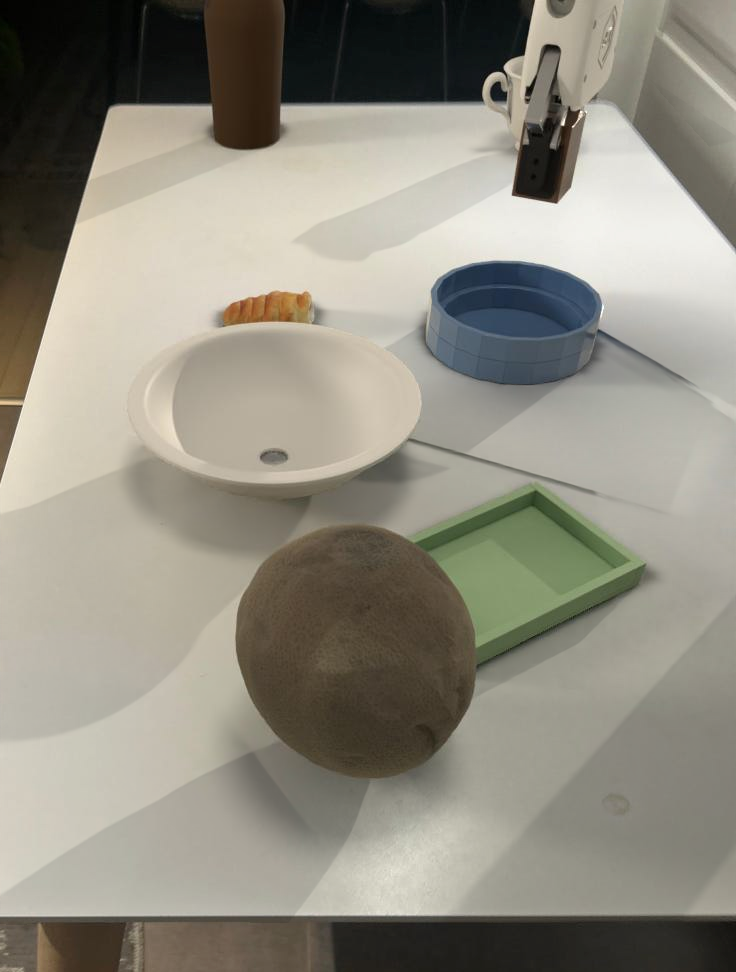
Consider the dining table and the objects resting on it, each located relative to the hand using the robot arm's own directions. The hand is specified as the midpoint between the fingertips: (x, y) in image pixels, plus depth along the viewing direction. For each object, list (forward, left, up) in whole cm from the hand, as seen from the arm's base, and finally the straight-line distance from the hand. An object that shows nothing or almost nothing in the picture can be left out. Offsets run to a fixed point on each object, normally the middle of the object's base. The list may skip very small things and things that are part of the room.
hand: (543, 183), depth 81 cm
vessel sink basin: (+28, +2, -17) cm, 33 cm away
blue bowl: (-2, -2, -17) cm, 17 cm away
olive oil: (-10, -66, -17) cm, 69 cm away
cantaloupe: (+40, +30, -17) cm, 53 cm away
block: (0, 0, -1) cm, 1 cm away
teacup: (-40, -41, -17) cm, 59 cm away
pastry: (+16, -17, -17) cm, 29 cm away
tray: (+22, +24, -17) cm, 37 cm away
